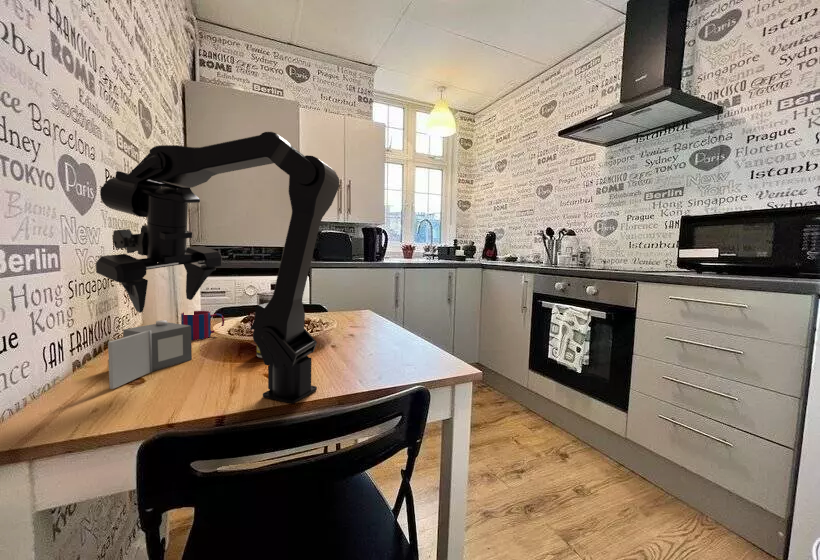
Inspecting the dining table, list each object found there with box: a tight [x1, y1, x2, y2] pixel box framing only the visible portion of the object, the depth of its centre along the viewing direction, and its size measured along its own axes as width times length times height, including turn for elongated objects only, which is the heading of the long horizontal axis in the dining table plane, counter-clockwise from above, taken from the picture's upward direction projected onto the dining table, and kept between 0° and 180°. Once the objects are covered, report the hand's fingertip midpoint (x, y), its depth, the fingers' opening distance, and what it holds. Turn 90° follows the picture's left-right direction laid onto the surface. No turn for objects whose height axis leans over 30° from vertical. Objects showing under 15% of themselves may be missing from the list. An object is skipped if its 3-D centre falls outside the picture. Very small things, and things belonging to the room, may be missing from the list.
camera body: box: [122, 319, 193, 372], centre depth 71 cm, size 8×9×8 cm
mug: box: [180, 310, 225, 341], centre depth 93 cm, size 7×10×7 cm
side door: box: [107, 330, 153, 390], centre depth 61 cm, size 9×1×8 cm, turn 179°
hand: (166, 305), depth 64 cm, fingers open, 9 cm apart
